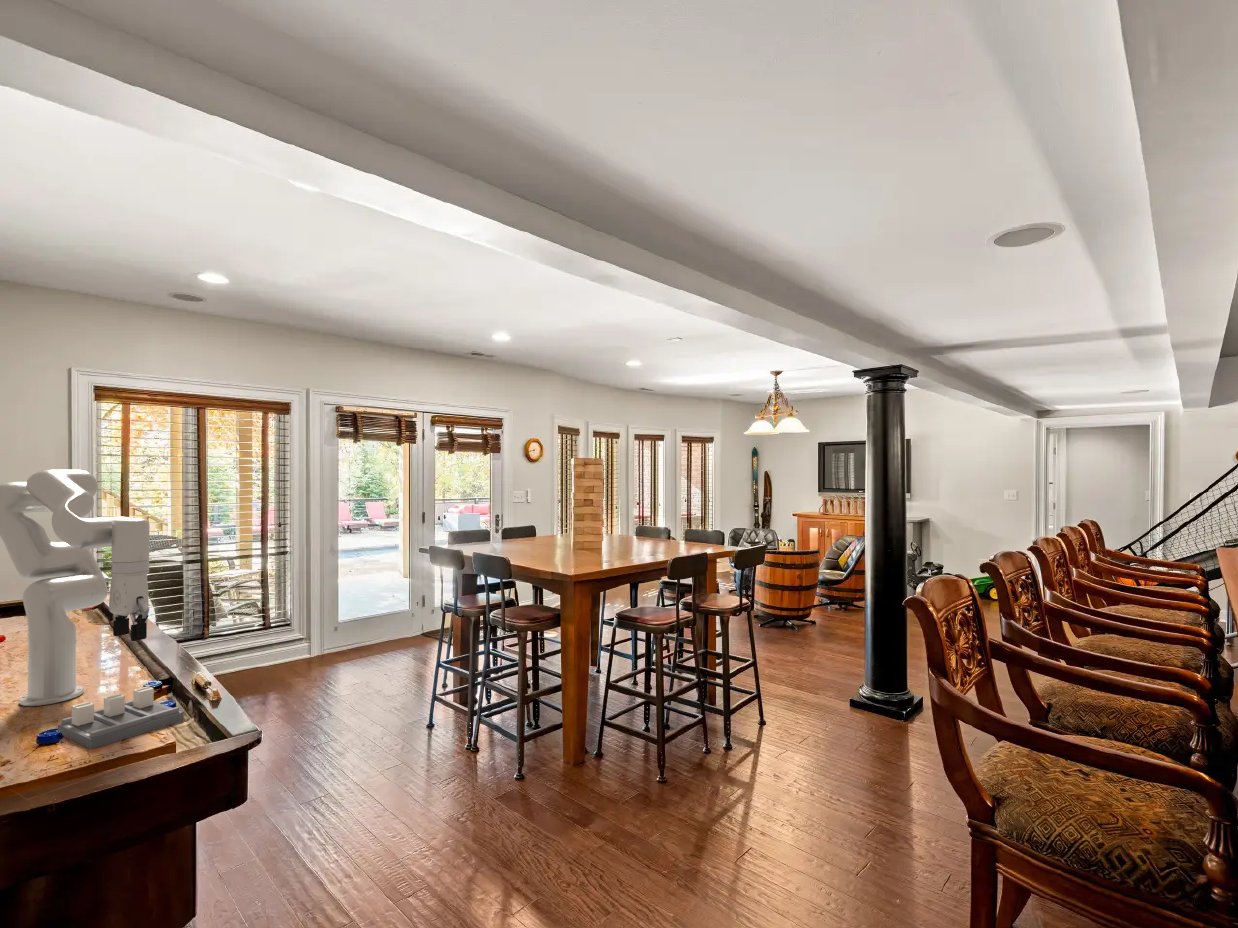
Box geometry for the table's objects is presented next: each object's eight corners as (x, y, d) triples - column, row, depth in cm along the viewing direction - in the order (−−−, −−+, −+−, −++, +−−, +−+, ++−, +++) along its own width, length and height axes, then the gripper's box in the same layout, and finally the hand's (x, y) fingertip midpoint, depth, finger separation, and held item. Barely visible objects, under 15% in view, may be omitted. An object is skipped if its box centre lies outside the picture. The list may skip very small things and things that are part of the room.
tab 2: (103, 714, 149) (103, 696, 149) (118, 710, 151) (118, 692, 151) (109, 717, 147) (109, 698, 147) (124, 712, 150) (124, 694, 150)
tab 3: (133, 706, 154) (133, 688, 154) (147, 702, 156) (147, 685, 156) (139, 708, 152) (139, 690, 152) (153, 704, 155) (153, 687, 155)
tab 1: (71, 723, 143) (71, 704, 143) (87, 718, 146) (88, 700, 146) (77, 726, 142) (77, 706, 142) (93, 721, 145) (93, 702, 145)
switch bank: (57, 732, 144) (57, 719, 144) (148, 707, 159) (148, 695, 159) (91, 749, 135) (91, 734, 135) (183, 720, 151) (183, 707, 151)
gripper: (96, 567, 159) (95, 636, 159) (129, 572, 151) (128, 645, 150) (131, 563, 166) (130, 629, 166) (164, 568, 157) (164, 638, 157)
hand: (129, 637), depth 158 cm, fingers open, 8 cm apart
